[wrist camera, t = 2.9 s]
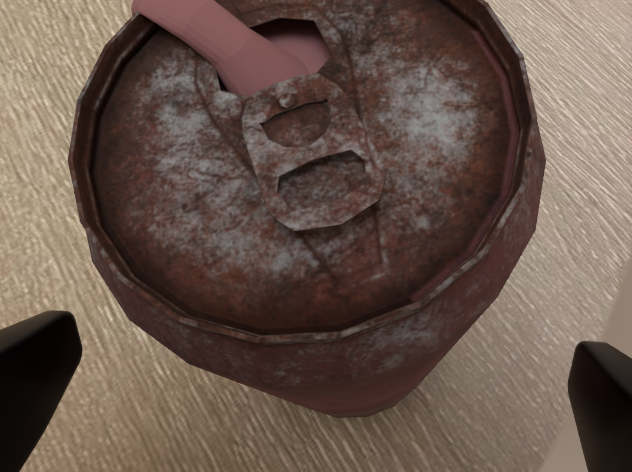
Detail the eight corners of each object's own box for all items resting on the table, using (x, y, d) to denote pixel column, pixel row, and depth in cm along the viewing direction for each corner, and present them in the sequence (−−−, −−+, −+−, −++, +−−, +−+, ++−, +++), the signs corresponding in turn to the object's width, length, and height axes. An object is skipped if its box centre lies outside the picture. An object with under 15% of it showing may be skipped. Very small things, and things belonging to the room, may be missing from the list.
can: (321, 220, 21) (229, -146, 8) (464, 307, 19) (668, 20, 6) (228, 348, 19) (-83, 167, 6) (374, 455, 17) (371, 524, 4)
